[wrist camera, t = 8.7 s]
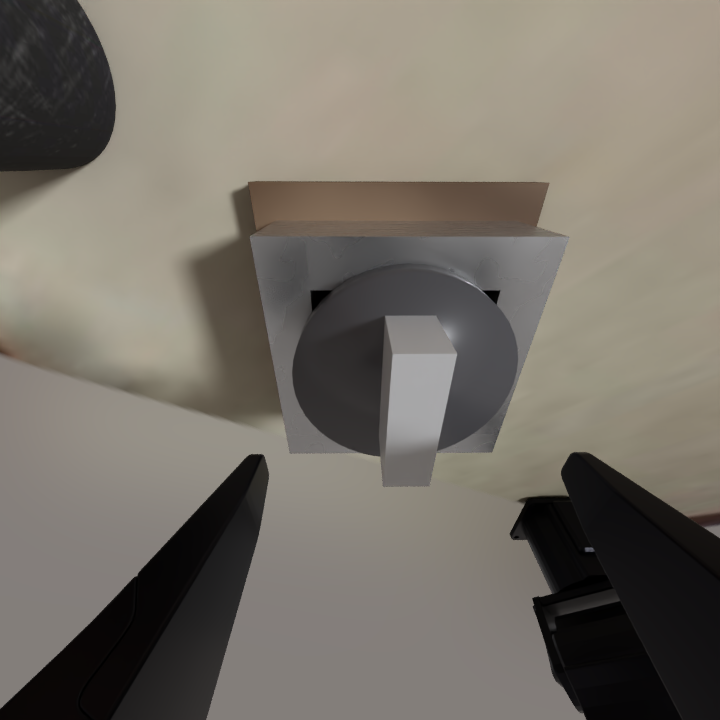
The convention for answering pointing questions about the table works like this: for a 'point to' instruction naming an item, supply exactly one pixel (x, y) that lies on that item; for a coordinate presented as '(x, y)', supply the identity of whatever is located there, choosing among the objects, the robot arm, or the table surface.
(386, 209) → the walnut plate
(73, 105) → the travel mug
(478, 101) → the table surface
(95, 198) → the table surface
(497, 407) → the grey disc with handle
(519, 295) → the hollow square frame
